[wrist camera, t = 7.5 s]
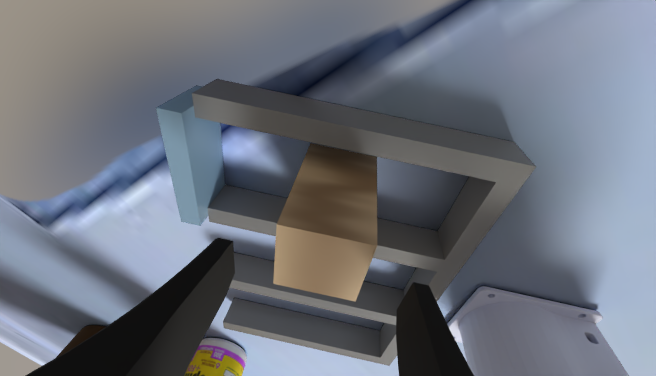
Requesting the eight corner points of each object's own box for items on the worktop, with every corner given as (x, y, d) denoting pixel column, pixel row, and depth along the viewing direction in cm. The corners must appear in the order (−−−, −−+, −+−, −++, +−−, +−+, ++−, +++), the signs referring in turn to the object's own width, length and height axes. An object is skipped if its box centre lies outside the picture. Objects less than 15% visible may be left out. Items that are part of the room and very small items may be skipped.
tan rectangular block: (376, 156, 16) (377, 245, 11) (361, 207, 19) (355, 301, 13) (310, 143, 16) (276, 224, 11) (303, 195, 19) (273, 283, 13)
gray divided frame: (514, 142, 15) (547, 178, 12) (388, 338, 28) (389, 377, 25) (195, 74, 15) (152, 94, 12) (223, 301, 29) (206, 335, 26)
